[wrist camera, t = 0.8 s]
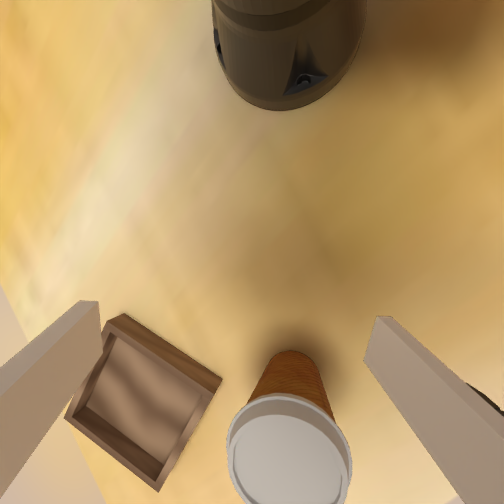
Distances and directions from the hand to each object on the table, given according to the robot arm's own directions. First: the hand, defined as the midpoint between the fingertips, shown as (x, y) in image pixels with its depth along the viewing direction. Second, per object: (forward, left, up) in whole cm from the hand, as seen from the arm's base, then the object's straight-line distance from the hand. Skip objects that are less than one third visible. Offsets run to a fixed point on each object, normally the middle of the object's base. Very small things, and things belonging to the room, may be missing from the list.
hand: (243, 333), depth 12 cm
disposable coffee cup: (+10, +7, -17) cm, 21 cm away
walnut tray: (+23, -8, -17) cm, 30 cm away
